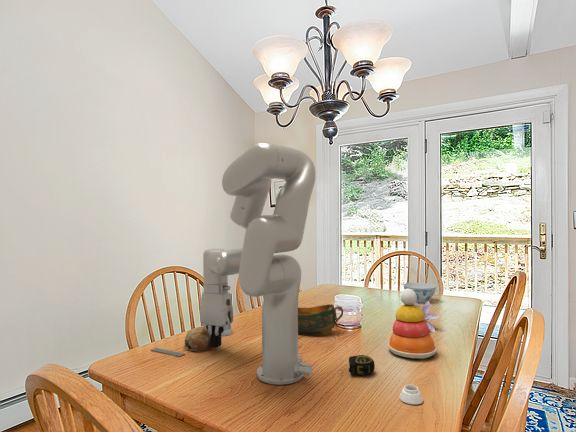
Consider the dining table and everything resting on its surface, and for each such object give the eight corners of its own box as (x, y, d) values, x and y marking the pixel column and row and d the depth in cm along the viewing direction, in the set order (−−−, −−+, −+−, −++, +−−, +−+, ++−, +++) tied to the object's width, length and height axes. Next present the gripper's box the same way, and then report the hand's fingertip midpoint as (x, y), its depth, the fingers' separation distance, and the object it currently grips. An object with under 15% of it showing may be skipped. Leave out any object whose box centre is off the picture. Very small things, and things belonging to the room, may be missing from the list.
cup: (234, 331, 133) (234, 312, 133) (224, 336, 127) (224, 316, 128) (221, 329, 135) (221, 310, 136) (211, 334, 130) (211, 314, 130)
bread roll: (182, 357, 118) (173, 338, 115) (203, 336, 126) (196, 317, 123) (204, 364, 113) (195, 343, 110) (225, 341, 121) (217, 321, 118)
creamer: (324, 343, 120) (324, 312, 120) (279, 331, 133) (279, 304, 133) (345, 333, 129) (345, 305, 130) (301, 323, 142) (301, 297, 142)
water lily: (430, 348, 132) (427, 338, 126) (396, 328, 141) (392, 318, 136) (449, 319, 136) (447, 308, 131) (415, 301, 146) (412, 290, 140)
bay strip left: (184, 354, 111) (184, 353, 111) (180, 357, 109) (180, 356, 109) (156, 348, 116) (155, 347, 116) (151, 350, 114) (151, 349, 114)
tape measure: (348, 366, 101) (348, 353, 101) (374, 368, 100) (373, 354, 100) (348, 377, 95) (348, 363, 95) (375, 379, 93) (375, 364, 93)
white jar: (395, 399, 83) (413, 408, 79) (394, 386, 83) (413, 395, 79) (408, 393, 86) (427, 401, 82) (408, 380, 86) (427, 388, 82)
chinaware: (397, 299, 183) (397, 283, 183) (422, 296, 187) (422, 281, 187) (416, 305, 169) (416, 289, 169) (443, 303, 173) (443, 287, 173)
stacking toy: (440, 349, 113) (439, 286, 114) (432, 365, 101) (431, 295, 101) (394, 341, 121) (393, 283, 121) (382, 356, 108) (381, 290, 108)
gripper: (242, 288, 114) (242, 346, 114) (204, 284, 121) (205, 339, 121) (227, 292, 108) (228, 354, 108) (189, 288, 114) (189, 346, 114)
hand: (216, 346), depth 114 cm, fingers closed
